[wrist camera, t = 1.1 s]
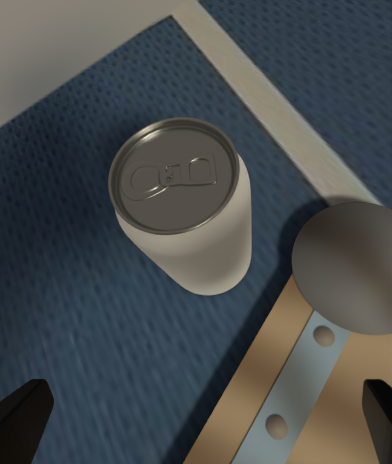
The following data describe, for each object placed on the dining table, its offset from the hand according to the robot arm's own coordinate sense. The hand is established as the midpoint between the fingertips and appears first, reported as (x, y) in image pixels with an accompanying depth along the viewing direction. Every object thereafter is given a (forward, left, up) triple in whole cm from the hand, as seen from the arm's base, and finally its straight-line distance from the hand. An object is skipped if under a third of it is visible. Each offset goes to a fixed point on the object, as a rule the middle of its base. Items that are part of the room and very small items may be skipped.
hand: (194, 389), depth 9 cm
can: (+6, +5, -13) cm, 16 cm away
